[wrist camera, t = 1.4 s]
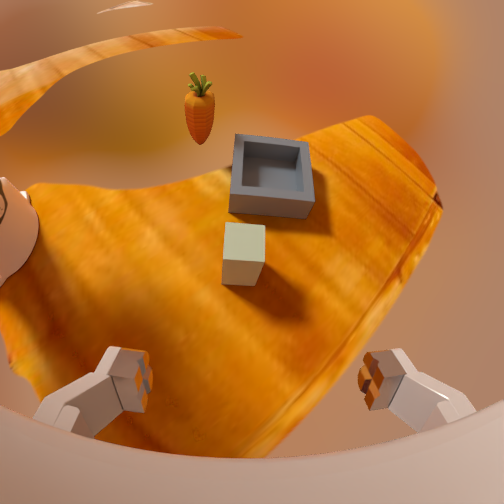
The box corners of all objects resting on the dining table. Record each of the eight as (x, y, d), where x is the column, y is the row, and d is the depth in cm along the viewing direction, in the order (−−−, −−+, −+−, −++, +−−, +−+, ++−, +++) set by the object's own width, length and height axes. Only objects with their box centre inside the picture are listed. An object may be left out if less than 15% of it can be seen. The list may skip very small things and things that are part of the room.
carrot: (219, 148, 49) (222, 78, 36) (192, 157, 48) (189, 87, 34) (207, 131, 51) (208, 64, 37) (182, 140, 49) (177, 71, 36)
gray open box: (228, 212, 44) (230, 193, 40) (233, 154, 49) (235, 133, 44) (305, 219, 45) (315, 201, 41) (300, 161, 50) (308, 142, 46)
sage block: (221, 284, 40) (223, 259, 31) (223, 253, 41) (225, 222, 33) (254, 286, 40) (264, 261, 32) (255, 255, 42) (265, 225, 34)
